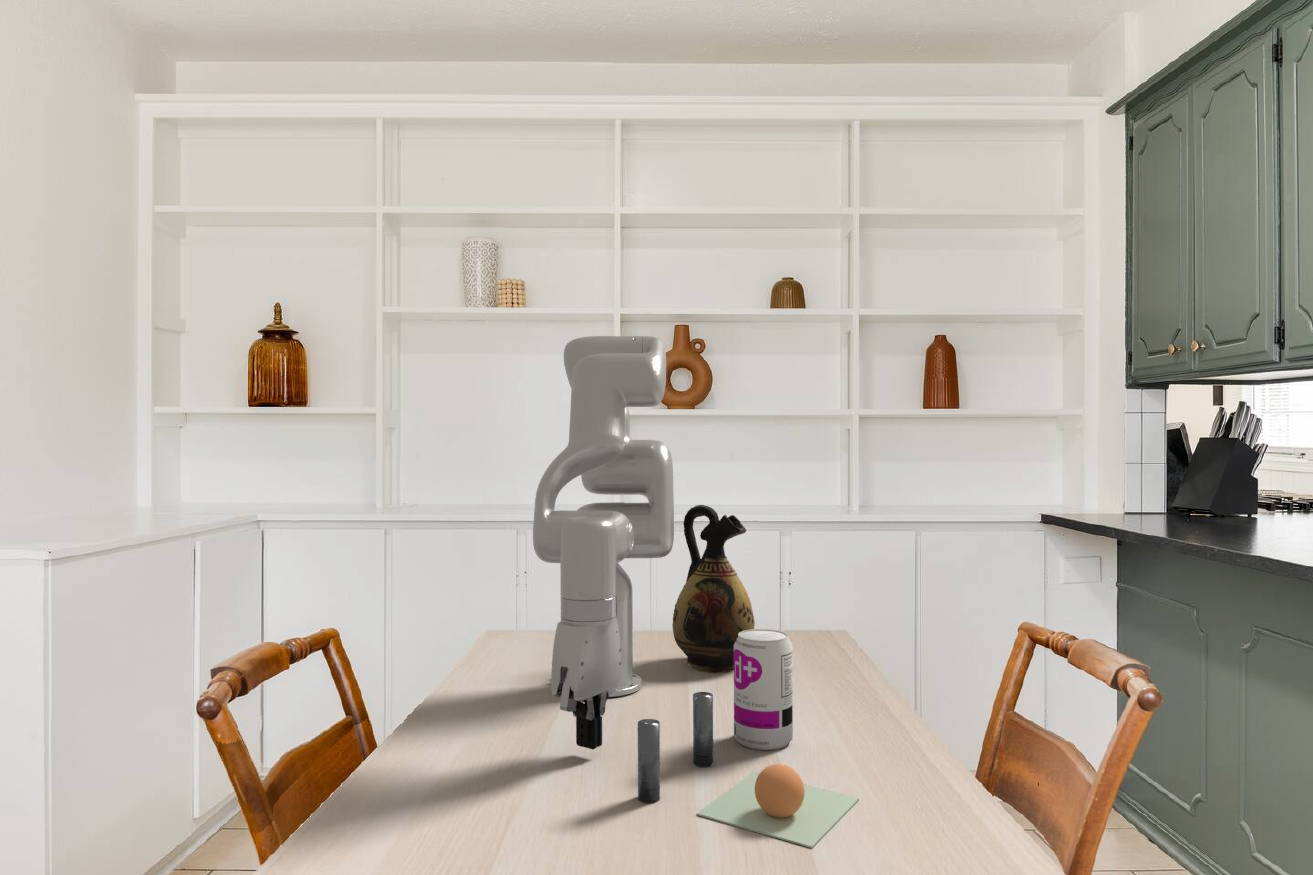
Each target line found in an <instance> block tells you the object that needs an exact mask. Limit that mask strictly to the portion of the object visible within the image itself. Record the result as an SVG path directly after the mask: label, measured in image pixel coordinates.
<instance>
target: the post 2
mask: <svg viewBox="0 0 1313 875" xmlns="http://www.w3.org/2000/svg"><path fill="white" fill-rule="evenodd" d="M713 710H714V694H713V693H711V692H707V691H696V692H694V693H693V694H692V745H693V746H692V748H693V749H692V751H693V752H692V755H693V756H692V758H693V760H692V761H693V762H692V764H693V765H694V766H696V767H699V768H709V767H711V766H713V765H714V711H713Z"/></svg>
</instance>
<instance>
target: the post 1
mask: <svg viewBox="0 0 1313 875" xmlns="http://www.w3.org/2000/svg"><path fill="white" fill-rule="evenodd" d="M660 725H661V724H660V721H659V720H657V719H654V718H644V719H643V718H642V719H640V720H639V721H638V722H637V800H638V801H639V802H640V803H644V804H655V803H657V802H659V801H660V799H661V794H660V793H661V786H660V784H661V783H660V782H661V774H660V773H661V768H660V767H661V765H660V764H661V756H660V754H661V748H660V743H661V742H660V739H661V738H660V737H661V736H660V735H661V734H660V732H661V731H660V730H661V729H660V728H661V727H660Z"/></svg>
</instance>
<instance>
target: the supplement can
mask: <svg viewBox="0 0 1313 875" xmlns="http://www.w3.org/2000/svg"><path fill="white" fill-rule="evenodd" d="M793 668H794V666H793V643H791V640H790V638H789V635H788V634H787V633H786V632H784V631H782V630H781V631H780V630H777V629H768V628H754V629H752V630H745V631H742V632H739V634H738V638H737V640H736V642H735V644H734V670H733V736H734V738H735V739H736V740H737V741H738V742H739V744H740V745H742V746H744V747H746V748H749V749H752V750H759V751H772V750H780V749H783V748H785V747H786V746H788V745H789V743H790V742H792V740H793V738H794V737H793V736H794V735H793V734H794V729H793V728H794V722H793V721H794V719H793V718H794V716H793V715H794V711H793V710H794V709H793V707H794V702H793V701H794V698H793V697H794V696H793V695H794V694H793V693H794V692H793V691H794V690H793V687H794V686H793V684H794V683H793V676H794V675H793V673H794V672H793Z"/></svg>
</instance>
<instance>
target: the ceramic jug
mask: <svg viewBox="0 0 1313 875" xmlns="http://www.w3.org/2000/svg"><path fill="white" fill-rule="evenodd" d="M700 517H706V518H708V520H709V523H708V524H707V525H706V526H705V527H704V528H703V529H702V530H701V532H700V533H699V534H700V535H699V538H700V540H703V541H706V546H705V550H704V551H703V553H702V556H701V555H700V550H699V547H698V544H697V539H696V536H695V530H694V523H695V519H697V518H700ZM746 532H747V529H746V528H745V526H744V525H743V524H742V522H741V520H739V518H737V516H735V515H734V514H732V515H729V516H727V514H724V515H723V516H722V517H721V518H720V519H719V515H718V512H717V511H716V510H715V509H713V508H712V507H711V506H708V505H705V504H697V505H695V506H693V507H690V509H688V510H687V512H686V514H685V516H684V519H683V534H684V537H685V540H686V541H685V542H686V545H687V549H688V551H689V555H690V560H691V561H690V562H691V563H690V565H689V569H688V572H687V575H686V580H685V581H686V582H685V583H684V585H683V587H682V588H681V591H680V592H679V595H678V598H677V599H676V603H675V604H674V609H673V613H672V614H673V615H672V616H673V617H672V633H673V638H674V641H675V643H676V645H677V647H678V648H679V649H680V650H681V651H682V652H683V653H684V655H685V656H686V657H687V659H686V664H687V665H688V666H689V667H690V668H691V669H694V670H697V671H702V672H703V671H704V672H707V673H711V674H712V673H713V674H714V673H715V674H717V673H721V672H731V671H734V644H735V642H736V640H737V638H738V634H739V632H742V631H745V630H752V629H755V626H756V622H755V617H754V612H753V606H752V603H751V598H750V597H749V595H748V592H747V590H746V588H745V586H744V584H743V582H742V580H741V579H740V577H739V575H738V574H737V572H736V571H737V570H735V569H734V568H733V566H732V564H731V563H730V561H729V560H728V557H727V556H726V553H725V543H726V542H727V541H728V540H730V539H733V538H734V537H737V536H740V535H742V534H743V535H744V534H746Z"/></svg>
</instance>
